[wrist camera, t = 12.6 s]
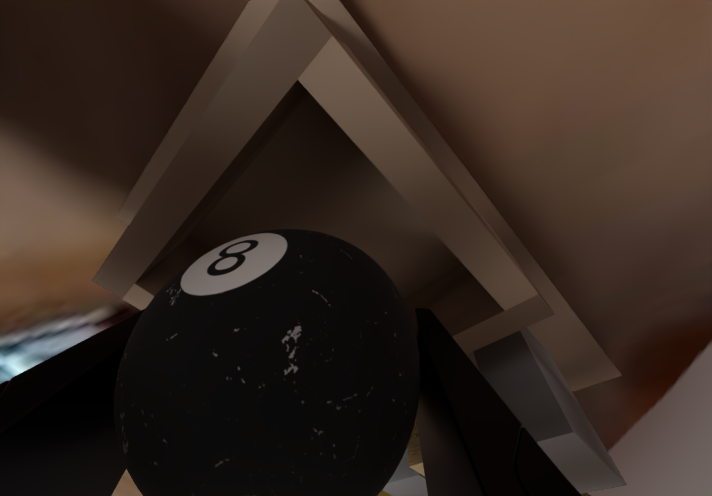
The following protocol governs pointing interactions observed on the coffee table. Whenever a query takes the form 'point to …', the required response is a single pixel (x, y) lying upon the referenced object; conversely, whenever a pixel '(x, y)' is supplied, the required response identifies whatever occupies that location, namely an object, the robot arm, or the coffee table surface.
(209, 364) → the billiard ball
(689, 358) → the coffee table surface
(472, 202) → the dock
